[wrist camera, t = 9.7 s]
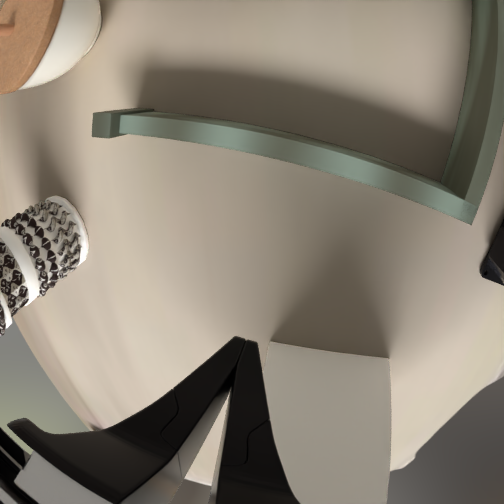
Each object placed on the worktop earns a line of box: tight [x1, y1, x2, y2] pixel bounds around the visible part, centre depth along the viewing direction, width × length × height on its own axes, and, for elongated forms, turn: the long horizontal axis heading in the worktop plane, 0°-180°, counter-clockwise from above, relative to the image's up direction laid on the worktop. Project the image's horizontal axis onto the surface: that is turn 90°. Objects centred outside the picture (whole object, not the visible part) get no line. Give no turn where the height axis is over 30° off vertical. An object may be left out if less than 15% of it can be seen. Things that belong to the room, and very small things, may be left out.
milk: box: [263, 341, 391, 504], centre depth 17 cm, size 12×12×26 cm
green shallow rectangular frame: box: [92, 0, 504, 225], centre depth 11 cm, size 24×18×5 cm
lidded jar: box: [0, 0, 102, 94], centre depth 12 cm, size 11×11×9 cm
